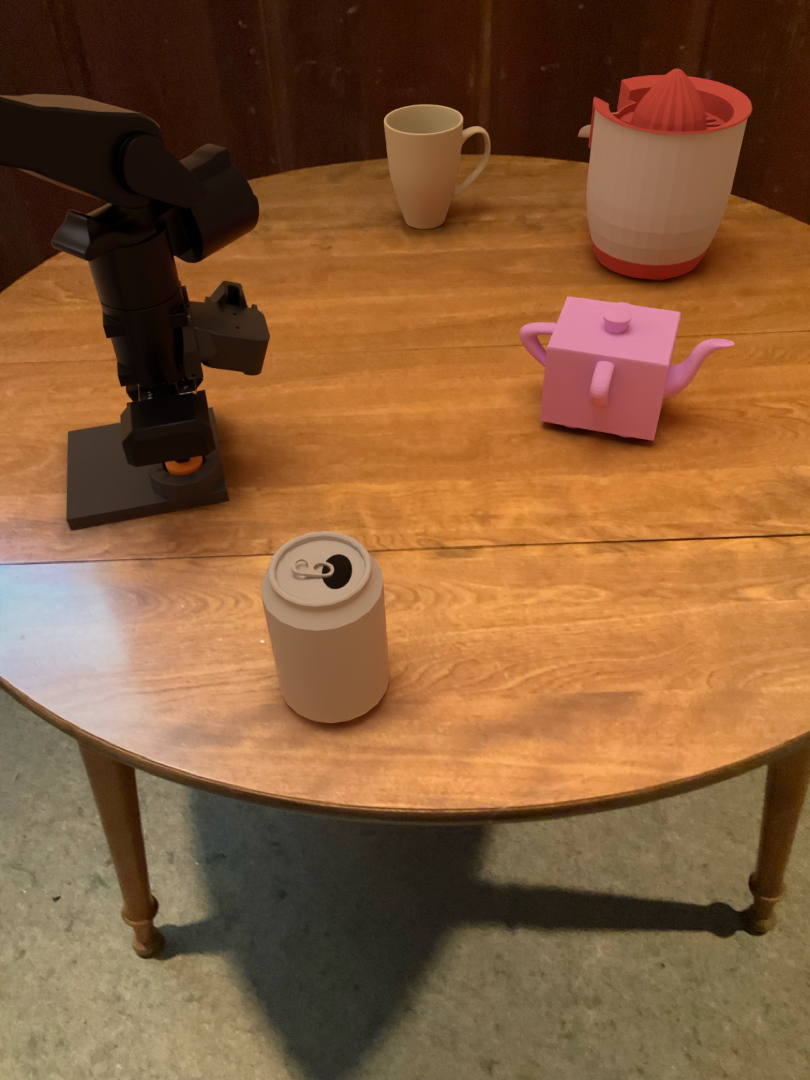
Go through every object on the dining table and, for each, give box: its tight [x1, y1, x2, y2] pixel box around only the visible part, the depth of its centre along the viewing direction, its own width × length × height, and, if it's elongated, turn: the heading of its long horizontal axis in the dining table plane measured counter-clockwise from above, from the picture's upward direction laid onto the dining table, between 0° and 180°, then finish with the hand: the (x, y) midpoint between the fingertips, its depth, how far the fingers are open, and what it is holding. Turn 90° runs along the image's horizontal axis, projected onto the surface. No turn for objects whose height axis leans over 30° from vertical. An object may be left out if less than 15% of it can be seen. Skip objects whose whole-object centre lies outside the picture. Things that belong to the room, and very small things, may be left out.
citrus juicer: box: [577, 68, 753, 281], centre depth 98 cm, size 16×17×20 cm
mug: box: [383, 104, 492, 230], centre depth 109 cm, size 11×10×12 cm
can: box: [260, 530, 391, 724], centre depth 59 cm, size 8×8×12 cm
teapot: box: [518, 296, 735, 442], centre depth 81 cm, size 18×14×10 cm
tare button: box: [165, 456, 204, 476], centre depth 77 cm, size 3×3×2 cm
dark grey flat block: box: [65, 406, 230, 530], centre depth 79 cm, size 13×12×3 cm
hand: (183, 459), depth 77 cm, fingers closed, pressing on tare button
